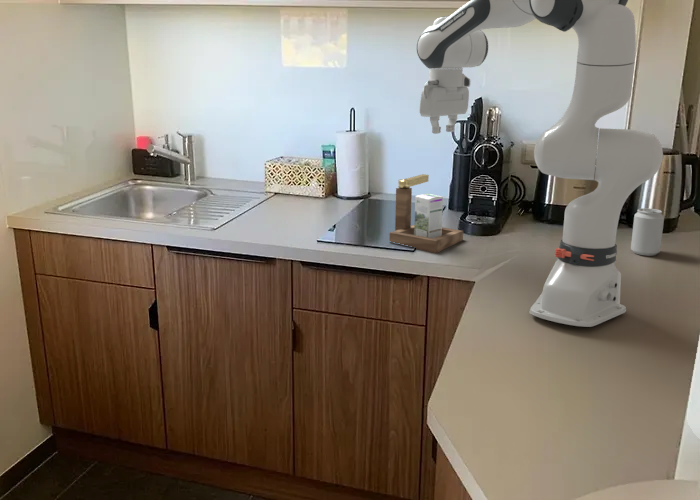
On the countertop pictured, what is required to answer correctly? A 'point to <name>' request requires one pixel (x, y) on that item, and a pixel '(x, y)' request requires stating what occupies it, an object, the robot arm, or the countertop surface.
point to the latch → (412, 181)
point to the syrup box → (428, 215)
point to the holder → (406, 231)
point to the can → (647, 231)
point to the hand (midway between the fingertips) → (443, 132)
